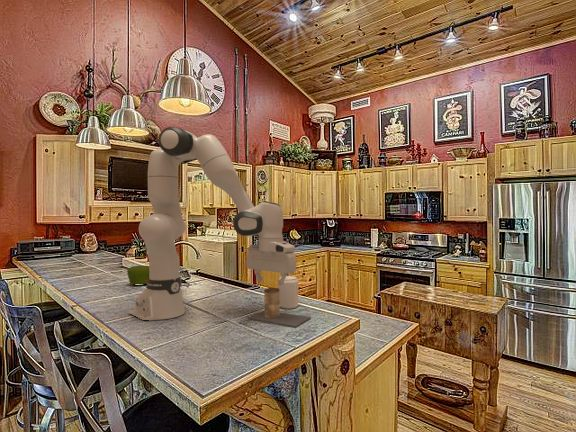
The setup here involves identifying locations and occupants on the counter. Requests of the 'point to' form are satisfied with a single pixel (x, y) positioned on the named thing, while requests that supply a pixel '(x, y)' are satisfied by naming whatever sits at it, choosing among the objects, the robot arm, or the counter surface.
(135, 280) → the green pot
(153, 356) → the counter surface
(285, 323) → the rubber mat
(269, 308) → the maple block
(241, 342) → the counter surface
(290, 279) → the beverage can
